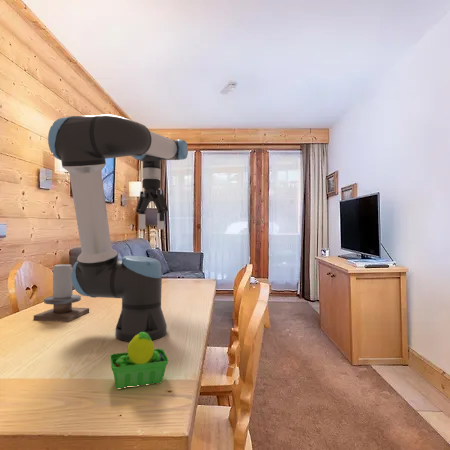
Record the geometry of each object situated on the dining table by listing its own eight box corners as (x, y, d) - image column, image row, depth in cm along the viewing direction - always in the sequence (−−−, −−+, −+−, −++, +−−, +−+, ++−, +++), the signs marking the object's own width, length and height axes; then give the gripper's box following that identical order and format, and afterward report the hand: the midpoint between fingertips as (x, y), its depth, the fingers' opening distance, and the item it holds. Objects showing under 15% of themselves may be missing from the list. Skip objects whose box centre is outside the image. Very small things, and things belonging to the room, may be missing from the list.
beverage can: (75, 296, 123) (76, 264, 123) (65, 300, 116) (66, 266, 116) (59, 295, 123) (59, 263, 123) (48, 299, 117) (49, 265, 117)
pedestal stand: (67, 321, 112) (68, 302, 112) (33, 319, 114) (33, 301, 114) (89, 312, 125) (89, 295, 125) (57, 310, 127) (58, 293, 127)
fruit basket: (162, 370, 75) (162, 320, 75) (170, 387, 67) (170, 332, 67) (109, 377, 71) (110, 325, 71) (111, 397, 63) (111, 338, 63)
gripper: (176, 177, 134) (176, 229, 134) (143, 182, 152) (142, 228, 151) (161, 175, 129) (161, 229, 129) (128, 180, 146) (127, 228, 146)
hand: (151, 229), depth 140 cm, fingers open, 13 cm apart
